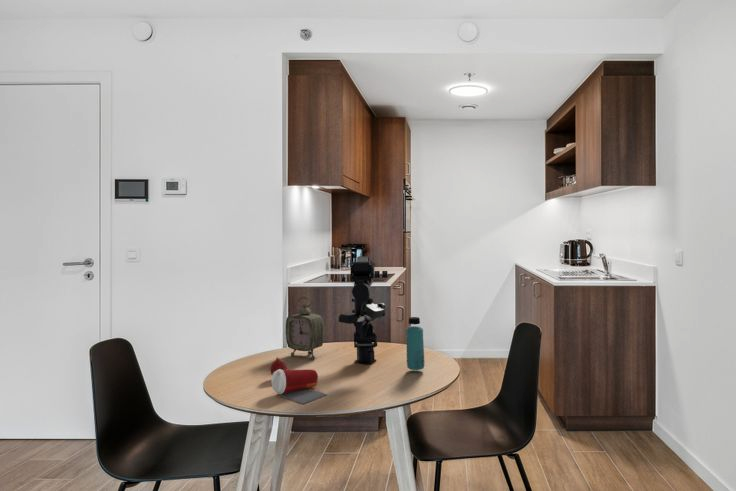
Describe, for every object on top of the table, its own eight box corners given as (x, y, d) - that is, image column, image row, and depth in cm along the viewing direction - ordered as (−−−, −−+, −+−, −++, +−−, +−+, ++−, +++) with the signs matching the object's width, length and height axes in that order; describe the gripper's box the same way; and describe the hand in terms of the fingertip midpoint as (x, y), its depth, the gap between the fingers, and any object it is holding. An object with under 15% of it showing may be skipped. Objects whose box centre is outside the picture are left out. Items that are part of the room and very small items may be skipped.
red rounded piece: (289, 377, 168) (289, 355, 167) (281, 382, 162) (281, 360, 162) (275, 376, 170) (275, 354, 169) (267, 381, 164) (266, 358, 164)
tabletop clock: (286, 356, 195) (284, 297, 194) (300, 351, 203) (298, 294, 202) (313, 361, 188) (311, 299, 187) (327, 355, 195) (325, 296, 194)
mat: (276, 394, 150) (276, 394, 150) (300, 386, 158) (300, 385, 158) (303, 404, 142) (303, 403, 142) (327, 395, 149) (327, 394, 149)
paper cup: (310, 362, 160) (273, 365, 151) (322, 373, 154) (284, 376, 145) (305, 382, 161) (268, 386, 152) (316, 394, 155) (278, 399, 146)
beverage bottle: (424, 374, 168) (423, 319, 167) (405, 374, 169) (404, 319, 168) (425, 368, 174) (424, 315, 173) (407, 368, 175) (406, 315, 174)
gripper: (359, 301, 156) (360, 347, 157) (395, 294, 170) (396, 337, 170) (337, 298, 164) (338, 342, 165) (373, 292, 178) (374, 333, 178)
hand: (362, 338), depth 169 cm, fingers closed
